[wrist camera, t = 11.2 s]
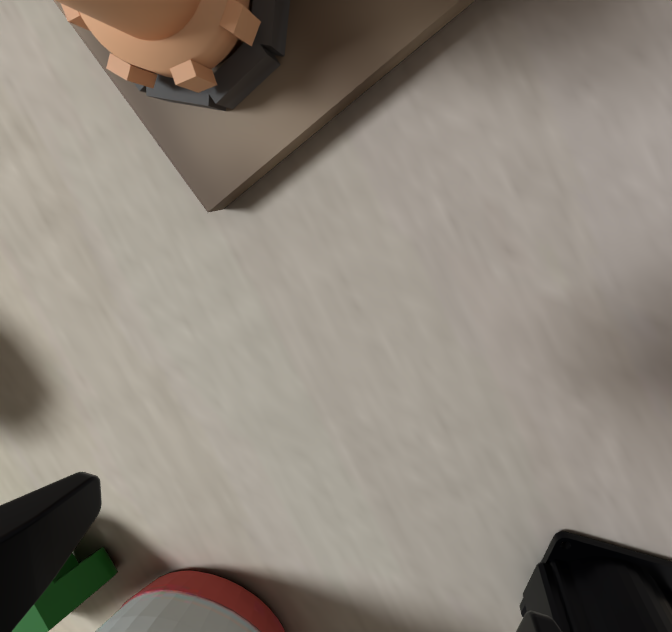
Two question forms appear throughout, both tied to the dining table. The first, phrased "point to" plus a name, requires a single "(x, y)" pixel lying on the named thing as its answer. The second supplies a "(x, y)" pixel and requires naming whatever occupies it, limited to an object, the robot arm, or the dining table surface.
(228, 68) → the gear board
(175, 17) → the gear spindle
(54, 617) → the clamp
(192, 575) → the citrus juicer
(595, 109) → the dining table surface
